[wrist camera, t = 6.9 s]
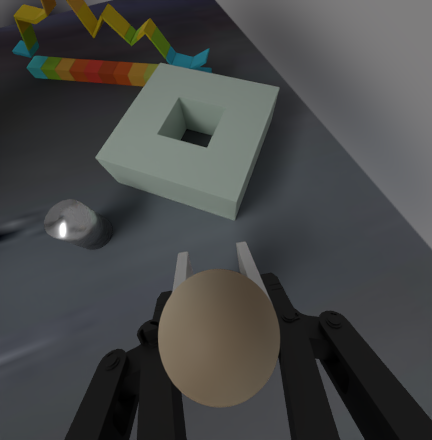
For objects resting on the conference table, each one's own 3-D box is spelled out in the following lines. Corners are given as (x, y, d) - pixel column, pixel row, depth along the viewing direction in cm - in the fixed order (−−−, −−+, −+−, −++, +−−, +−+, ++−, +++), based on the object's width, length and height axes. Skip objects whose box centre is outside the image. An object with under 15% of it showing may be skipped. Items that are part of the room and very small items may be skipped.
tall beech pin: (196, 321, 20) (136, 372, 6) (211, 280, 21) (186, 253, 8) (236, 338, 19) (259, 433, 6) (249, 295, 20) (293, 293, 7)
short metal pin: (72, 243, 24) (35, 229, 19) (91, 213, 25) (60, 194, 21) (101, 254, 23) (69, 244, 19) (118, 223, 25) (93, 206, 20)
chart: (212, 79, 33) (201, -81, 19) (208, 93, 32) (194, -65, 18) (45, 66, 36) (-69, -77, 22) (36, 79, 35) (-89, -64, 21)
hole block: (118, 182, 27) (95, 157, 22) (170, 97, 32) (160, 62, 27) (234, 220, 24) (236, 202, 19) (271, 121, 29) (279, 87, 24)
